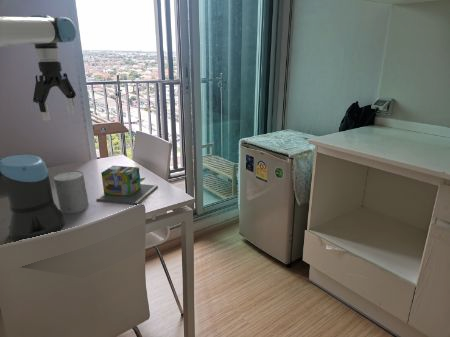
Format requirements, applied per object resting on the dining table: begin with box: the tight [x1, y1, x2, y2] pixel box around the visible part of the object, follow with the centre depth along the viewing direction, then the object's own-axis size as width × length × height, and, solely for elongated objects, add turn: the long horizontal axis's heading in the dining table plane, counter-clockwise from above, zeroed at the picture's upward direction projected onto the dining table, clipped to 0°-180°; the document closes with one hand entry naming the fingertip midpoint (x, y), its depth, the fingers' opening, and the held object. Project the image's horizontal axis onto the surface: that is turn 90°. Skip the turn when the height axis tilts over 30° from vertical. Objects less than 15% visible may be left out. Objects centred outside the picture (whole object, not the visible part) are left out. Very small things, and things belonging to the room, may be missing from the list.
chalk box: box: [101, 165, 146, 196], centre depth 127 cm, size 9×9×15 cm
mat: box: [95, 183, 159, 206], centre depth 128 cm, size 17×17×1 cm
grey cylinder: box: [53, 170, 90, 214], centre depth 115 cm, size 10×10×12 cm
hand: (59, 117), depth 129 cm, fingers open, 13 cm apart
